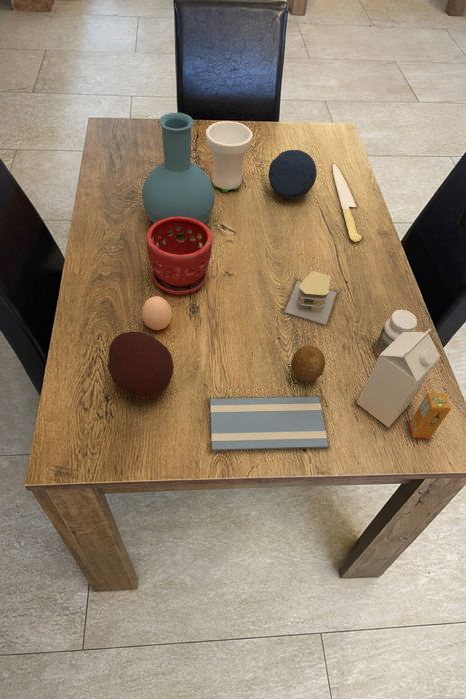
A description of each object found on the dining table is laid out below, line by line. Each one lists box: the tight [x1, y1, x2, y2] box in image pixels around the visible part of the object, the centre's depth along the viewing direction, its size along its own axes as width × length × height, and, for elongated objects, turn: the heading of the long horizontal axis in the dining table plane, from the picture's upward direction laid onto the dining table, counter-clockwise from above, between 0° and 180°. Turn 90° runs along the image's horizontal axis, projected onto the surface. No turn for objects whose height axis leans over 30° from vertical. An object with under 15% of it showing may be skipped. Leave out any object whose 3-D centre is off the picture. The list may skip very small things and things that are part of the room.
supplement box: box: [408, 392, 452, 440], centre depth 86 cm, size 3×3×10 cm
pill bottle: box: [374, 309, 418, 357], centre depth 96 cm, size 6×6×10 cm
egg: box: [141, 295, 173, 331], centre depth 98 cm, size 6×6×8 cm
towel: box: [209, 396, 329, 452], centre depth 88 cm, size 20×10×1 cm, turn 93°
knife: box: [332, 163, 363, 243], centre depth 129 cm, size 1×33×4 cm
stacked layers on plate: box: [284, 270, 337, 326], centre depth 105 cm, size 10×9×6 cm
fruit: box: [290, 344, 326, 383], centre depth 92 cm, size 6×6×8 cm
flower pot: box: [146, 217, 213, 295], centre depth 104 cm, size 13×13×12 cm
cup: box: [205, 120, 254, 193], centre depth 125 cm, size 11×11×14 cm
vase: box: [141, 112, 216, 236], centre depth 111 cm, size 16×16×25 cm
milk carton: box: [356, 328, 441, 428], centre depth 85 cm, size 7×7×19 cm
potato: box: [107, 331, 175, 399], centre depth 88 cm, size 11×13×10 cm
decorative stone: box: [268, 149, 318, 200], centre depth 126 cm, size 12×12×10 cm
